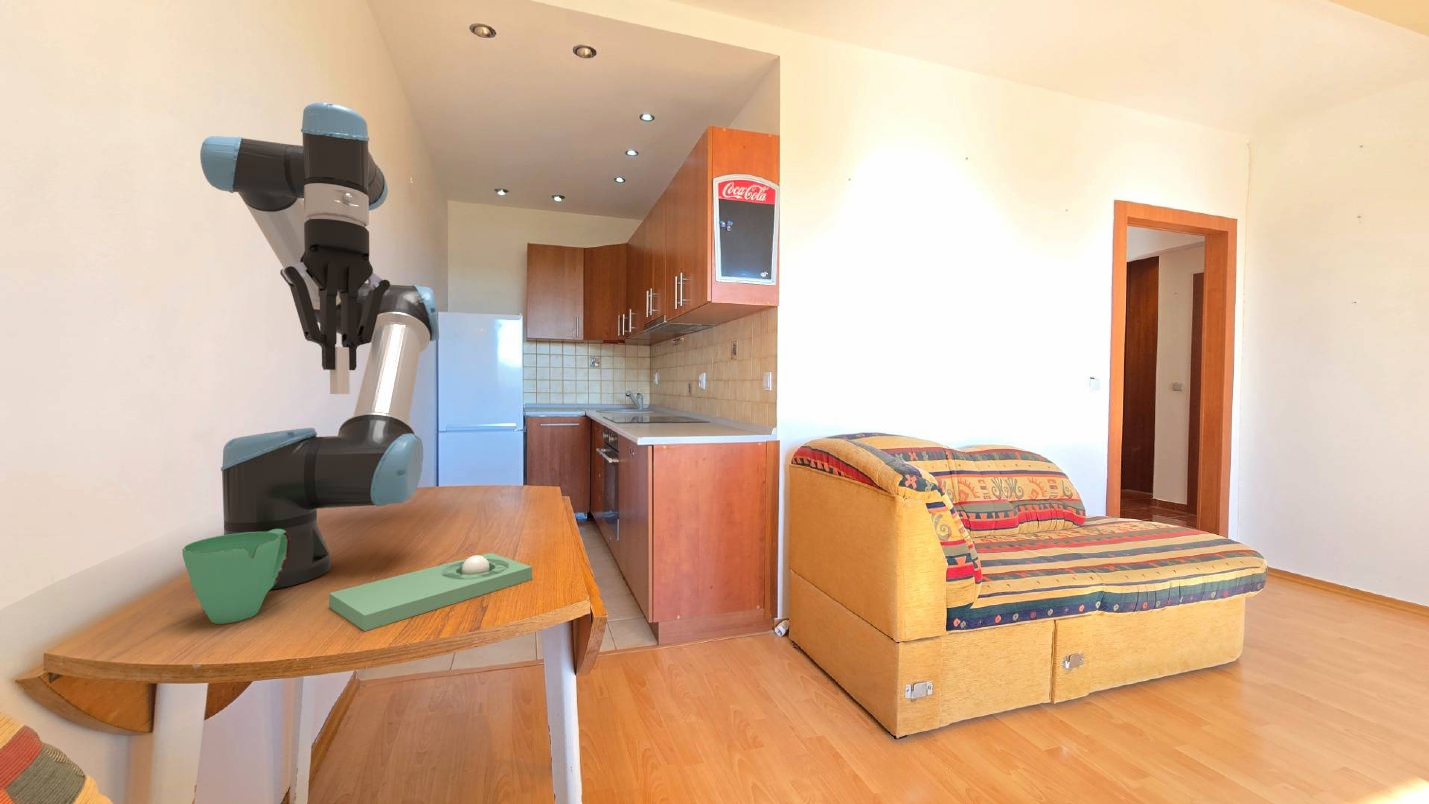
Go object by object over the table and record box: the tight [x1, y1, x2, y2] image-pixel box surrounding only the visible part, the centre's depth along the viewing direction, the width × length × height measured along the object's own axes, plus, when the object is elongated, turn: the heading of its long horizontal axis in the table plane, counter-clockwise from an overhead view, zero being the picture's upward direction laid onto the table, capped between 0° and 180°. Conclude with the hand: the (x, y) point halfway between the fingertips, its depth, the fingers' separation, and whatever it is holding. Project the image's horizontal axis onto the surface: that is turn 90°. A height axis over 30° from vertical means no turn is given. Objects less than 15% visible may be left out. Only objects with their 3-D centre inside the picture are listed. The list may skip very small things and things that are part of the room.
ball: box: [462, 554, 490, 575], centre depth 88 cm, size 4×4×4 cm
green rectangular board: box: [328, 552, 533, 632], centre depth 83 cm, size 24×12×2 cm, turn 142°
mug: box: [182, 529, 290, 625], centre depth 77 cm, size 15×10×10 cm
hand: (339, 393), depth 79 cm, fingers closed
